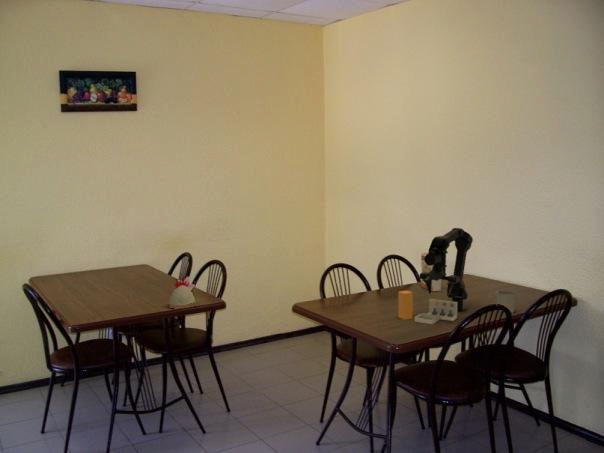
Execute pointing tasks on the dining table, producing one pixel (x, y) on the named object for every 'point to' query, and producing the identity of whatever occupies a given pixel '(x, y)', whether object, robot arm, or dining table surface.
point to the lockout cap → (405, 305)
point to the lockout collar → (431, 320)
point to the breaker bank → (443, 309)
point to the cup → (506, 299)
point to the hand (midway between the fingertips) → (438, 294)
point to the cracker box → (426, 268)
